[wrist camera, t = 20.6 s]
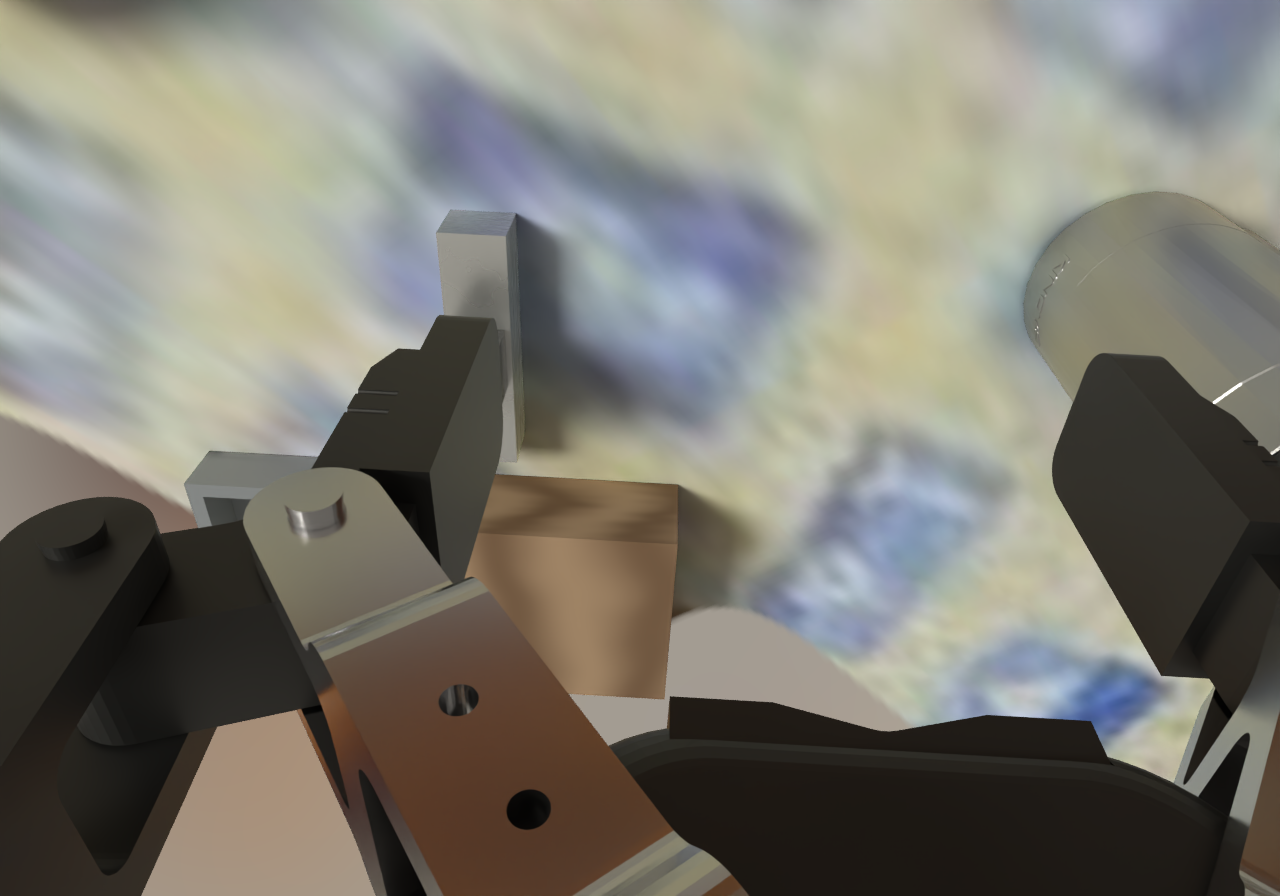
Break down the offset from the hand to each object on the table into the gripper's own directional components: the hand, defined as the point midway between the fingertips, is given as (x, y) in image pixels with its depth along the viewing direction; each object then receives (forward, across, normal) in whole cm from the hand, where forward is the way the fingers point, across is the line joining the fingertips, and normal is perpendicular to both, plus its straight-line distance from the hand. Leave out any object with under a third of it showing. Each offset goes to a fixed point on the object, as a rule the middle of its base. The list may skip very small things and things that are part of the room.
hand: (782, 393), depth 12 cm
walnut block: (+28, +8, +29) cm, 41 cm away
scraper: (+28, +10, +14) cm, 33 cm away
